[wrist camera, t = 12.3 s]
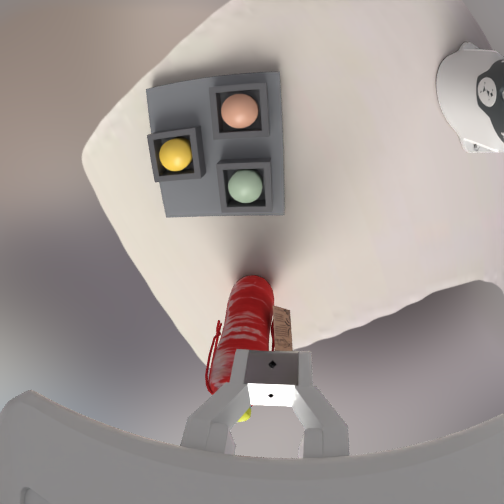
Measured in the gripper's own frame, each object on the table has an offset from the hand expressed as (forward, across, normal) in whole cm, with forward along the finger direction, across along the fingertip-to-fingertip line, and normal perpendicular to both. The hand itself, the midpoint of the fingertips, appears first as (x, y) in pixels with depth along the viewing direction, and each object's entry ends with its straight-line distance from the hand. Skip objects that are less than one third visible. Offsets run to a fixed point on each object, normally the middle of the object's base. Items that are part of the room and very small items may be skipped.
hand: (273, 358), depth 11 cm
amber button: (+29, +14, -3) cm, 32 cm away
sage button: (+29, +5, +2) cm, 29 cm away
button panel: (+31, +9, -3) cm, 32 cm away
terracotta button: (+29, +5, -8) cm, 30 cm away
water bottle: (+31, +4, +22) cm, 38 cm away
